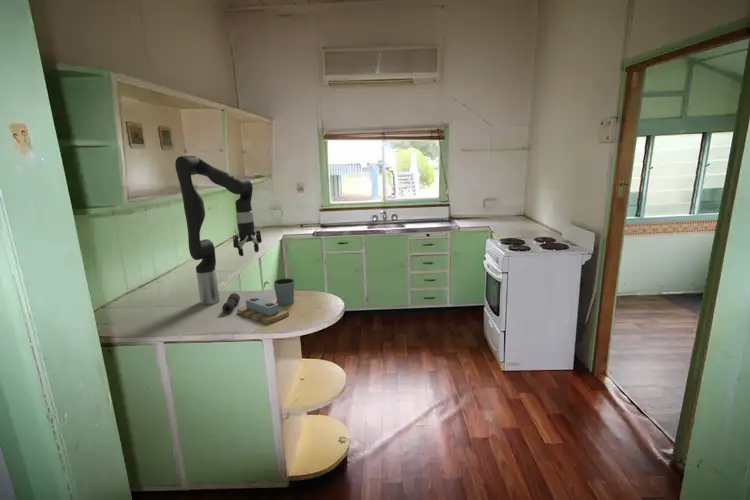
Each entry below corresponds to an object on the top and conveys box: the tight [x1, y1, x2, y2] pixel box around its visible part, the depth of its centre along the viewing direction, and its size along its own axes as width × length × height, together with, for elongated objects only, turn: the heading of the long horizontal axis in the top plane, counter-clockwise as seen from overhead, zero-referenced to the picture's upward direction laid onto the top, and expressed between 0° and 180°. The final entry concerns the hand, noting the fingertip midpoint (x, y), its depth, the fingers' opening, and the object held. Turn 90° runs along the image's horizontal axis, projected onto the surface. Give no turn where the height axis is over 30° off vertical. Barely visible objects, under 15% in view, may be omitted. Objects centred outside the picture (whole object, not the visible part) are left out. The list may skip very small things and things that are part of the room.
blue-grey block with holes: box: [245, 296, 280, 316], centre depth 195 cm, size 18×6×4 cm, turn 52°
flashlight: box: [221, 292, 241, 314], centre depth 206 cm, size 15×5×5 cm, turn 5°
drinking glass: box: [273, 277, 295, 307], centre depth 208 cm, size 10×10×12 cm
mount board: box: [236, 296, 290, 325], centre depth 195 cm, size 24×12×7 cm, turn 52°
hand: (249, 253), depth 198 cm, fingers open, 8 cm apart
